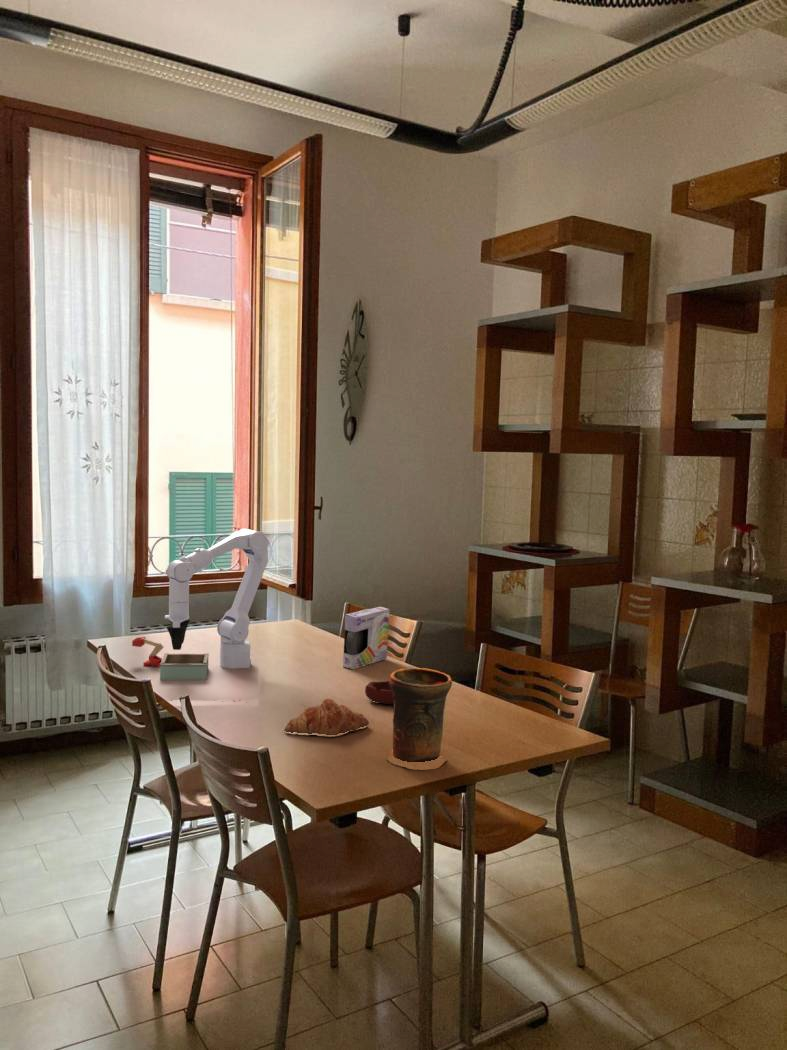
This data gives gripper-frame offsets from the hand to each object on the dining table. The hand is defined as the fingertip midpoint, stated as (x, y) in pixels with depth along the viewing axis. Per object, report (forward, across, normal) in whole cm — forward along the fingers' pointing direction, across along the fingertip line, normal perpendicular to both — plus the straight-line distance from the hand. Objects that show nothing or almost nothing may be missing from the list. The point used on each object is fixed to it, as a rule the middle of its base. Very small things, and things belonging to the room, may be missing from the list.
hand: (178, 646), depth 256 cm
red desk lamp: (+10, -9, -8) cm, 15 cm away
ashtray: (+10, +23, +64) cm, 69 cm away
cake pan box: (+10, -16, +58) cm, 61 cm away
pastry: (+10, +48, +41) cm, 64 cm away
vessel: (+10, +68, +61) cm, 92 cm away
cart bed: (+9, +1, +2) cm, 10 cm away
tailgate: (+8, +6, +2) cm, 10 cm away
